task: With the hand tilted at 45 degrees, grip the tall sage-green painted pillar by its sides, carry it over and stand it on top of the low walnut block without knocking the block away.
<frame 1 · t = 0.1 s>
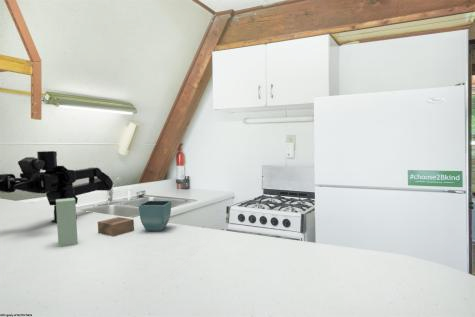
hand: (2, 187, 109), 17 cm above the counter, tool horizontal, fingers open, 9 cm apart
sage pillar: (67, 243, 104), on the counter
walnut block: (116, 232, 116), on the counter
flower pot: (156, 229, 117), on the counter
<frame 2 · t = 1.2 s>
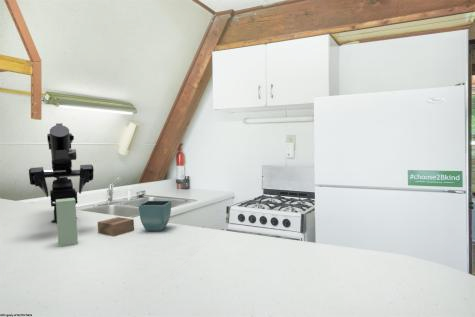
hand: (64, 194, 110), 14 cm above the counter, tool tilted 45°, fingers open, 9 cm apart
nothing on the counter moved.
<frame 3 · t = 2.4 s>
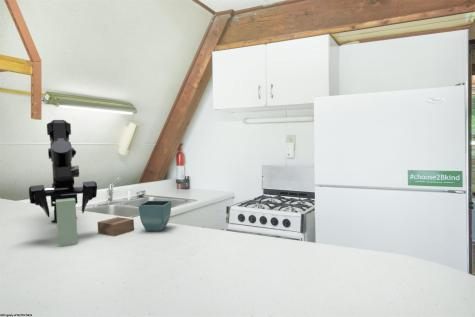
hand: (66, 214, 104), 9 cm above the counter, tool tilted 45°, fingers open, 9 cm apart
nothing on the counter moved.
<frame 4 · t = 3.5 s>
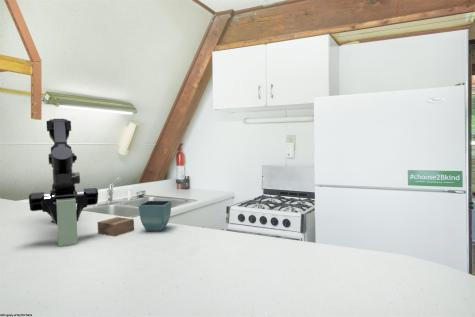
hand: (66, 222, 102), 7 cm above the counter, tool tilted 45°, fingers closed on sage pillar, 5 cm apart
sage pillar: (67, 243, 104), on the counter, touching gripper
everything else where it was.
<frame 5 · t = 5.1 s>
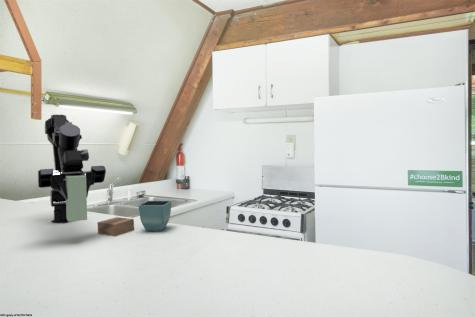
hand: (77, 197, 104), 13 cm above the counter, tool tilted 45°, fingers closed on sage pillar, 5 cm apart
sage pillar: (76, 219, 105), point 7 cm above the counter, touching gripper
everything else where it was.
when the fingers open (12 cm above the counter, at t = 6.7 s): sage pillar drops 1 cm, resting on walnut block.
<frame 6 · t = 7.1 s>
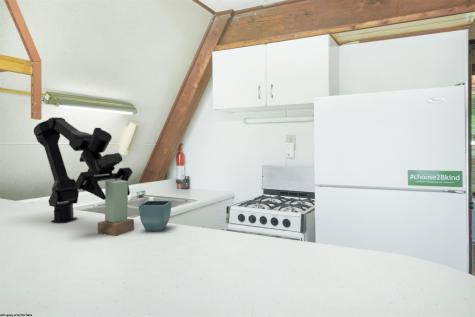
hand: (117, 196, 114), 12 cm above the counter, tool tilted 45°, fingers open, 9 cm apart
sage pillar: (116, 220, 116), point 4 cm above the counter, touching walnut block
walnut block: (116, 232, 116), on the counter, touching sage pillar
everything else where it was.
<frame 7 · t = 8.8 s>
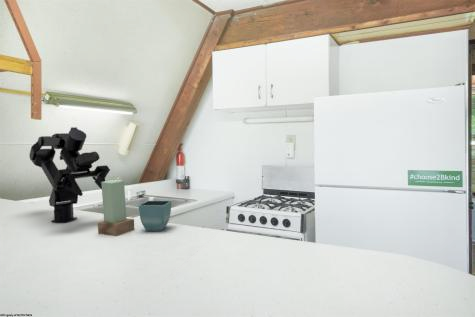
hand: (94, 193, 120), 12 cm above the counter, tool tilted 45°, fingers open, 9 cm apart
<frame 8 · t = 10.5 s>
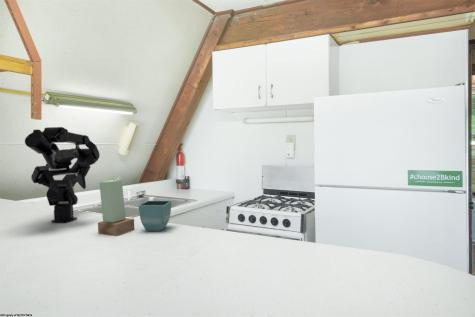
hand: (72, 190, 120), 14 cm above the counter, tool tilted 45°, fingers open, 9 cm apart
sage pillar: (114, 220, 115), point 4 cm above the counter
walnut block: (116, 232, 116), on the counter
everything else where it was.
at the end: sage pillar 0.6 cm off-centre on the walnut block, point 4.2 cm above the walnut block's base; sage pillar tilted 3°; walnut block moved 0.4 cm from its start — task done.
